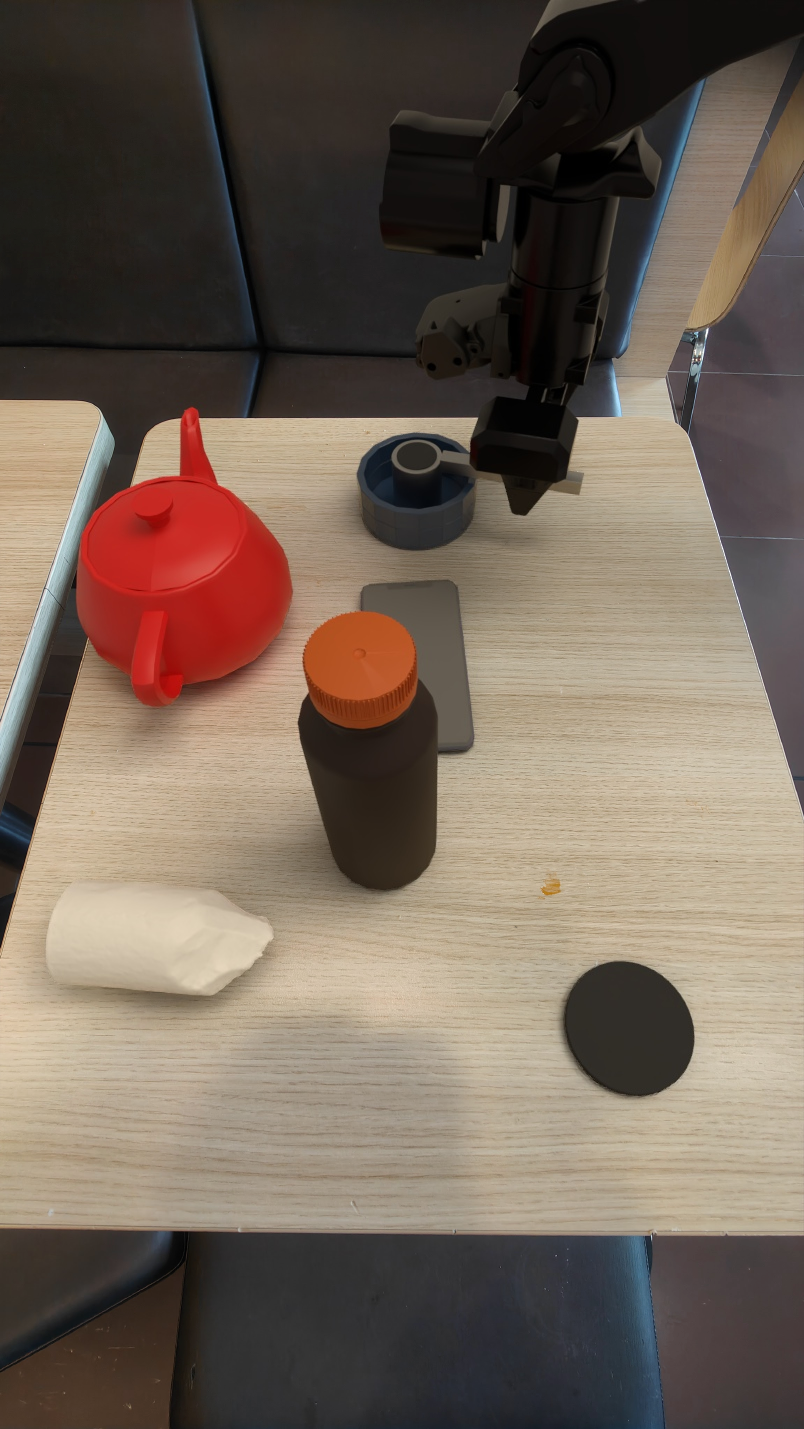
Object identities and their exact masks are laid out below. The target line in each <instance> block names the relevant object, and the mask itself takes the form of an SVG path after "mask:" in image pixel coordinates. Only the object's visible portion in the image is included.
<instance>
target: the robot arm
mask: <svg viewBox="0 0 804 1429" xmlns="http://www.w3.org/2000/svg"><path fill="white" fill-rule="evenodd" d="M803 37H804V0H549V2H548V3H547V6H546V7H545V10H544V11H543V14H542V15H541V18H540V19H539V22H538V24H537V26H536V28H535V29H534V32H533V34H532V36H531V37H530V40H529V42H528V44H527V47H526V49H525V51H524V53H523V56H522V59H521V62H520V65H519V71H518V79H517V83H516V84H515V86H514V87H513V88H512V90H507V91H505V93H504V94H503V97H502V99H501V101H500V103H499V105H498V107H497V109H496V110H495V113H494V114H493V117H492V119H491V121H490V120H479V119H478V120H477V119H465V118H454V117H441V116H434V115H431V114H429V113H426V112H424V111H419V110H409V109H401V110H400V111H399V112H398V114H397V115H396V117H395V118H394V119H393V121H392V122H391V124H390V126H389V127H388V134H389V136H388V138H389V151H388V153H387V154H388V155H387V158H386V164H385V169H384V176H383V186H382V198H381V200H380V201H379V204H378V218H379V219H378V220H379V221H378V222H379V230H380V231H379V232H380V236H381V240H382V244H383V247H384V248H385V249H386V250H387V251H392V252H401V253H410V254H419V255H427V256H436V257H443V258H445V257H447V258H454V259H462V260H463V259H464V260H470V261H471V260H472V261H480V259H481V258H482V257H485V253H486V248H487V241H488V242H489V243H496V244H499V243H500V242H501V240H502V238H503V235H504V231H505V228H506V224H507V223H506V222H507V217H508V211H509V204H510V194H511V187H516V191H515V202H514V212H513V213H514V214H513V224H512V226H513V227H512V240H511V250H510V264H509V267H508V271H507V281H506V282H503V283H502V282H501V283H497V284H482V285H478V286H474V287H471V288H467V289H462V290H458V291H454V292H450V293H446V294H445V293H444V294H443V295H439V296H437V297H435V298H433V299H432V300H430V302H428V304H427V305H426V307H425V309H424V311H423V314H422V316H421V318H420V320H419V322H418V325H417V327H416V329H415V331H414V332H415V336H416V339H415V343H414V345H415V348H416V351H417V352H416V357H415V360H414V361H415V365H416V366H417V367H418V368H420V369H423V370H424V371H425V374H426V376H427V377H428V378H430V379H432V380H434V381H441V380H446V379H452V378H456V377H462V376H465V375H466V374H467V371H469V370H473V369H479V368H483V367H485V366H488V365H489V364H490V371H489V372H490V373H489V378H490V379H491V378H492V379H499V380H505V381H506V380H507V381H508V380H510V379H511V377H514V380H515V381H516V382H517V383H519V384H521V385H523V386H526V387H528V389H527V393H526V395H525V399H522V398H515V397H509V396H508V397H507V396H501V395H496V396H495V397H493V398H492V399H491V400H489V401H488V402H486V403H485V404H484V405H482V406H481V409H480V412H479V415H478V417H477V420H476V422H475V425H474V428H473V430H472V434H471V436H470V441H469V452H470V458H469V464H470V465H471V466H472V467H473V468H474V469H475V470H476V471H481V472H487V473H493V474H499V475H501V477H502V480H503V482H502V483H503V487H504V491H505V494H506V499H507V501H508V505H509V509H510V513H511V514H512V515H516V516H521V517H526V516H527V515H528V514H529V513H530V512H531V511H532V509H533V508H534V507H535V506H536V505H537V503H539V501H540V499H542V497H543V496H544V495H545V494H546V493H547V492H548V491H549V490H548V489H549V488H550V487H551V486H552V485H553V484H554V483H555V484H556V483H558V482H560V481H563V480H565V479H566V477H567V473H568V470H569V468H570V464H571V460H572V457H573V452H574V448H575V443H576V439H577V433H578V428H579V422H580V420H579V419H578V418H577V416H576V415H575V414H574V412H572V410H571V409H570V408H569V407H568V404H569V402H570V400H571V398H572V397H573V395H574V394H575V392H576V390H577V388H578V387H579V386H581V387H582V386H583V387H584V385H585V381H586V378H587V375H588V370H589V368H590V366H591V365H592V363H593V361H594V360H595V359H596V356H597V352H598V348H599V343H600V341H601V339H602V335H603V330H604V328H605V323H606V317H607V315H608V314H607V313H608V310H609V309H608V308H609V304H610V303H609V302H610V297H611V296H610V295H609V293H608V291H606V289H605V287H606V283H607V277H608V271H609V264H608V263H609V258H610V254H611V247H612V242H613V236H614V230H615V225H616V220H617V214H618V209H619V205H620V204H619V203H620V199H621V198H622V199H623V198H625V199H635V200H644V201H645V200H646V201H647V200H651V199H652V198H653V197H654V196H655V194H656V192H657V185H658V182H659V176H660V173H661V169H662V164H663V163H662V162H663V161H662V159H661V158H662V157H660V156H659V154H657V152H656V151H655V150H654V149H653V147H652V146H651V145H650V144H649V143H648V142H647V140H646V138H645V136H644V131H643V128H642V127H641V126H640V125H642V124H644V123H645V122H647V121H650V120H651V119H652V118H654V117H656V116H657V115H659V114H660V113H661V112H662V111H664V110H665V109H667V108H668V107H669V106H670V105H672V104H673V103H674V102H675V101H677V100H678V99H679V98H681V97H682V96H684V94H686V93H687V92H688V91H690V90H691V89H692V88H694V87H695V86H696V85H697V84H699V83H701V82H702V81H704V80H705V79H707V78H709V77H711V76H712V75H714V74H715V73H717V72H719V71H720V70H722V69H724V68H726V67H728V66H730V65H732V64H735V63H738V62H740V61H743V60H745V59H748V58H751V57H753V56H756V55H758V54H761V53H764V52H767V51H769V50H771V49H774V48H777V47H780V46H782V45H785V44H788V43H790V42H793V41H795V40H798V39H800V38H803ZM623 135H624V136H623ZM621 136H623V137H621ZM620 137H621V138H620ZM618 138H619V139H618ZM616 139H618V140H616ZM614 140H615V141H614Z"/></svg>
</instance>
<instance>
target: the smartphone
mask: <svg viewBox="0 0 804 1429" xmlns="http://www.w3.org/2000/svg"><path fill="white" fill-rule="evenodd" d="M359 596H360V597H359V598H360V599H359V600H360V611H363V612H364V611H365V612H369V611H370V612H376V613H379V614H384V615H385V616H387V615H388V617H390V618H391V617H392V619H393V620H395V619H396V622H399V623H400V625H403V627H404V628H405V627H406V631H409V634H411V637H413V641H414V643H415V645H416V651H417V673H418V678H419V679H420V680H421V681H422V682H423V684H424V685H425V686H426V688H427V689H428V691H429V692H430V694H431V695H432V696H433V699H434V703H435V707H436V711H437V714H438V752H455V751H456V752H457V751H468V750H469V749H471V747H473V745H474V742H475V738H476V737H475V730H474V729H475V727H474V718H473V710H472V701H471V700H472V699H471V691H470V684H469V683H470V682H469V675H468V666H467V658H466V647H465V637H464V630H463V623H462V613H461V612H462V611H461V605H460V604H461V603H460V595H459V587H458V585H457V584H456V583H455V581H453V580H451V579H449V578H446V579H430V580H429V579H426V580H410V581H409V580H408V581H393V582H378V583H377V582H374V583H368V584H366V585H364V586H363V587H362V588H361V591H360V595H359Z"/></svg>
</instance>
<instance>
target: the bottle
mask: <svg viewBox="0 0 804 1429" xmlns="http://www.w3.org/2000/svg"><path fill="white" fill-rule="evenodd" d="M301 657H302V660H301V662H302V669H303V674H304V678H305V683H306V685H307V690H308V692H307V694H306V696H305V697H304V699H303V700H302V702H301V705H300V710H299V715H298V718H297V727H298V728H297V729H298V733H299V742H300V745H301V749H302V753H303V757H304V760H305V763H306V767H307V770H308V774H309V778H310V782H311V785H312V789H313V792H314V796H315V799H316V803H317V806H318V810H319V814H320V817H321V821H322V824H323V828H324V832H325V835H326V839H327V842H328V846H329V849H330V854H331V856H332V859H333V860H334V862H335V864H336V866H337V868H338V870H339V871H340V872H341V873H342V874H343V875H344V876H345V877H346V878H347V879H348V880H350V882H352V883H354V884H356V885H358V886H361V887H363V888H365V889H368V890H374V891H375V890H376V891H384V892H385V891H386V892H387V891H390V890H395V889H400V888H403V887H405V886H406V885H408V884H411V883H412V882H414V881H415V880H417V879H418V878H419V877H420V876H421V875H422V874H423V873H424V872H425V871H426V870H427V868H429V866H430V863H431V862H432V859H433V857H434V855H435V854H436V847H437V838H438V773H439V772H438V766H439V764H438V760H439V758H438V757H439V751H438V714H437V711H436V707H435V703H434V699H433V696H432V695H431V694H430V692H429V691H428V689H427V688H426V686H425V685H424V684H423V682H422V681H421V680H420V679H419V678H418V673H417V651H416V645H415V643H414V641H413V637H411V634H409V631H406V627H405V628H404V627H403V625H400V623H399V622H396V619H395V620H393V619H392V617H391V618H390V617H388V615H387V616H385V615H384V614H379V613H376V612H370V611H369V612H365V611H364V612H363V611H361V610H358V611H357V610H355V611H353V612H352V611H349V612H345V613H340V614H339V615H336V616H335V617H331V618H330V619H329V618H328V619H327V620H326V621H324V622H323V623H322V624H320V626H319V627H318V626H317V627H316V629H315V630H313V633H310V637H308V640H306V644H304V648H303V652H302V656H301Z"/></svg>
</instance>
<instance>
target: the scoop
mask: <svg viewBox="0 0 804 1429" xmlns="http://www.w3.org/2000/svg"><path fill="white" fill-rule="evenodd" d="M469 458H470V454H464V453H457V452H451V451H445V450H444V451H443V453H441V450H440V449H439V448H438V447H437V446H436V445H435V444H433V443H431V442H428V441H425V440H410V441H406V442H404V443H402V444H400V445H398V446H397V447H396V448H395V449H394V451H393V453H392V476H393V496H394V506H396V507H403V508H413V509H422V508H428V507H433V506H439V505H441V501H442V472H443V473H449V474H455V475H461V476H467V477H473V478H477V479H480V480H484V481H485V480H486V481H492V482H496V483H503V480H502V477H501V475H499V474H493V473H487V472H481V471H476V470H475V469H474V468H473V467H472V466H471V465H470V464H469ZM584 476H585V472H581V471H574V470H569V469H568V473H567V477H566V479H565V480H563V481H560V482H558V483H556V484H555V483H554V484H553V485H552V486H551V487H550V488H549V489H548V490H547V491H552V492H558V493H563V494H569V495H575V496H580V495H581V490H582V486H583V482H584V481H583V480H584Z"/></svg>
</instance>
